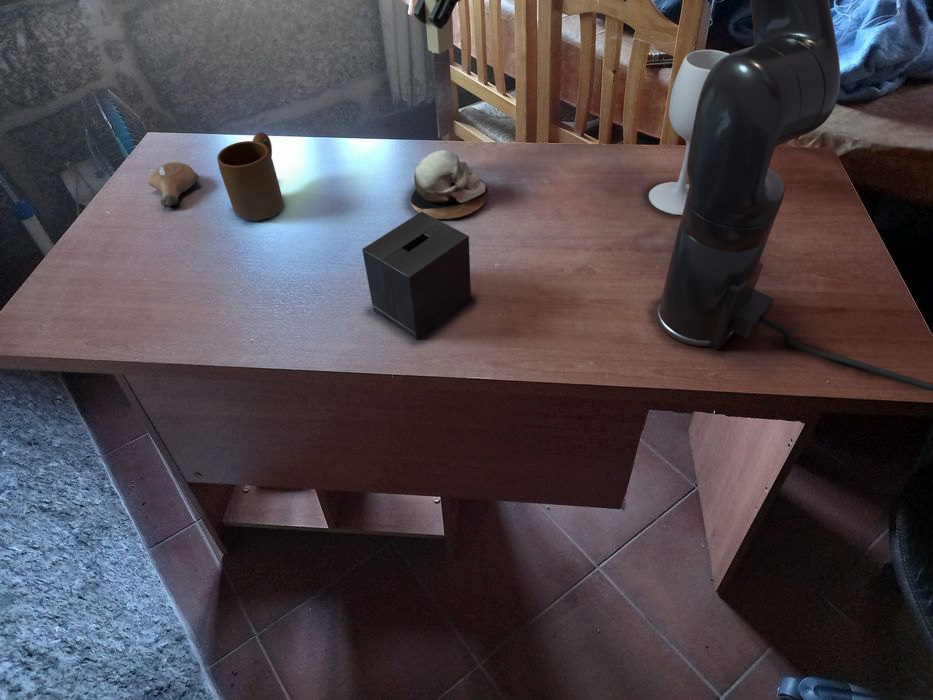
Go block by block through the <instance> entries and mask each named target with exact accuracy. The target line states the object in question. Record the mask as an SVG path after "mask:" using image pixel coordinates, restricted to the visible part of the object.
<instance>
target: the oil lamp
mask: <svg viewBox="0 0 933 700" xmlns="http://www.w3.org/2000/svg"><path fill="white" fill-rule="evenodd" d="M199 179H200V176H199V174H198V173H197V172H195V170H194V169H193V168H192V167H191V166H190V165H188V164H187V163H184V162H178V161H174V162H167V163H164V164H162V165H161V166H160V167H158V168H157V169H156V170H155V171H154V173H153V174H152V175H151V176H150V177H149V179H148V181H147V184H148V185H149V186H150V187H152V188H153V189H155V190H156V191H157V192H159V193H161V194H162V195H161V199H160V205H161V206H163V207H164V208H169V207H172V206H175V205H177V204H179V203H180V201H179V197H180V196H181V194H183V193H184V192H186V191H188V189H190V188H191V187H192V186H193V185H194V184H195V183H197V182H199Z"/></svg>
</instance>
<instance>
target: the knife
mask: <svg viewBox="0 0 933 700" xmlns="http://www.w3.org/2000/svg"><path fill="white" fill-rule="evenodd" d="M436 2H437V0H425V13H426V24H425V26H426V40H427V50H428V52H432V62H433V79H434V89H435V90H434V92H435V93H434V94H435V104H436V105H435V106H436V121H437V122H436V123H437V137H438V139H441V138H443V137H445V136H447V135H449V134H450V133H452V132H454V120H453V100H452V98H453V97H452V80H451V78H452V77H451V59H450V58H451V57H450V50H451V49H453V48H454V46H455V45H454V23H453V22H454V21H453V12H452V13H451V16H450V18H449V20H448V22H447V23H446V24H445V25H444V26H443V28H442V29H439V28H436V27H435V26H434V25H433V24H432V23H431V22H430V21H429V17H430V14H431V12H432V10H433V8H434V6H435V4H436Z"/></svg>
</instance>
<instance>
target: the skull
mask: <svg viewBox="0 0 933 700" xmlns="http://www.w3.org/2000/svg"><path fill="white" fill-rule="evenodd" d="M413 179H414V186H415V188H414V190H413V192H412V194H411V197H410V204H411V206H412V208H413V209H414V210H415V211H416V212H417V213H420V212H424V213H426V214H428V215H430V216H432V217H433V218H435V219H437V220H440V219H441V220H449V219H455V218H460V217H464V216H468V215H470V214H472V213H473V212H476V211H478V209H480V208H481V207H483V206H484V204H485V203H486V202H487V200H488V196H489V189H488V187H487V185H486V183H485V182H484V181H482V180H481V179H480V175H479V174H478V172H477V171H476V170H474V169H473V168H472V167H470V166H468V163H467V162H466V161H460V157H459V155H458V153H455V152H453V151H449V150H446V149H445V150H444V149H441V150H436V151H433V152H431V153H429V154H428V155H426V156H425V157H424V158H423V159H421V161H420V162H419V163H418V165H417V166H416V168H415V169H414V176H413Z"/></svg>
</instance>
